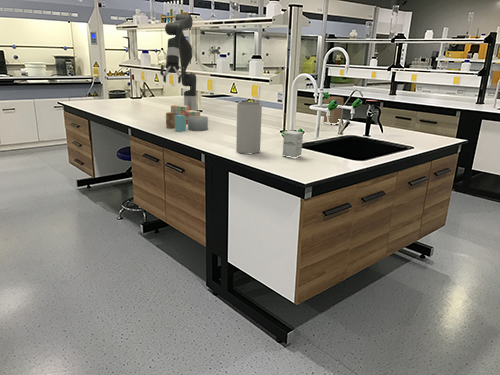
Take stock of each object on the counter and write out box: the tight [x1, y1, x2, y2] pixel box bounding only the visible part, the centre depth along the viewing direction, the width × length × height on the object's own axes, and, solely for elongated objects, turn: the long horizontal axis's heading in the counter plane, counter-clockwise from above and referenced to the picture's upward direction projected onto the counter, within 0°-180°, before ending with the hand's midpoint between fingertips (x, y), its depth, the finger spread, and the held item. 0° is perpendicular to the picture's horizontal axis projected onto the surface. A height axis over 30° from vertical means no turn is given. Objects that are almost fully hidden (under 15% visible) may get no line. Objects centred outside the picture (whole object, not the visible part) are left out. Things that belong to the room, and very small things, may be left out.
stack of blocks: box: [170, 104, 201, 125], centre depth 283 cm, size 21×6×12 cm, turn 63°
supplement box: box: [282, 130, 304, 157], centre depth 199 cm, size 7×7×13 cm
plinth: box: [187, 115, 209, 132], centre depth 263 cm, size 13×13×8 cm
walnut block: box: [165, 111, 176, 130], centre depth 265 cm, size 5×5×10 cm
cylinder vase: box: [235, 101, 263, 154], centre depth 204 cm, size 12×12×25 cm
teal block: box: [174, 115, 187, 133], centre depth 255 cm, size 5×5×10 cm
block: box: [323, 96, 345, 123], centre depth 297 cm, size 10×10×20 cm
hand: (171, 82), depth 245 cm, fingers open, 8 cm apart
